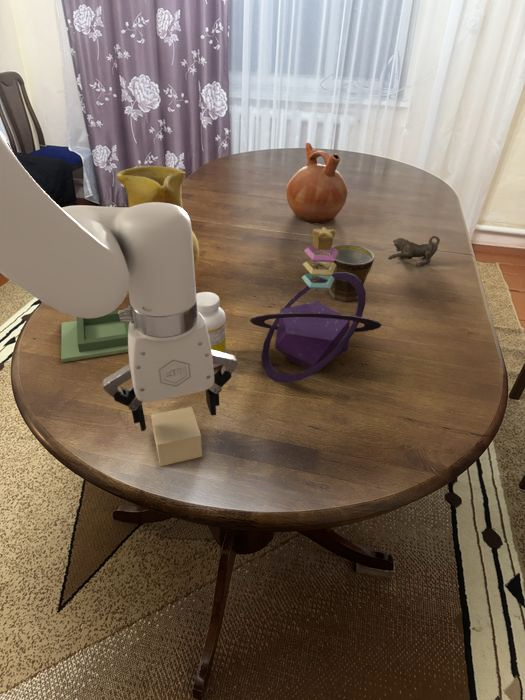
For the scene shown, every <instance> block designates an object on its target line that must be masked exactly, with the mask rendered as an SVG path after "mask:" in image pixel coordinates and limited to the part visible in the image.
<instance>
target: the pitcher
mask: <svg viewBox="0 0 525 700" xmlns="http://www.w3.org/2000/svg"><path fill="white" fill-rule="evenodd" d="M186 174H187V173H186V171H184V170H182V169H179V168H176V167H172V166H159V165H143V166H141V165H140V166H135V167H134V166H133V167H130V168H126V169H123V170H120V171H119V172H117V173H116V179H117V180H118V181H119V183H120V184H122V186H123V187H124V188H125V191H126V195H127V201H128V207H132V206H135V205H139V204H143V203H151V202H160V203H169V204H173V205H176V206H178V207H180V208H182V209H183V210H184V208H183V207H184V206H183V200H182V186H183V182H184V181H185V178H186V176H187V175H186ZM192 241H193V256H194V271H196V269H197V265H198V262H199V261H198V260H199V257H200V247H199V241H198V237H197V236H196V234H195V232H194V231H193V230H192Z"/></svg>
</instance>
